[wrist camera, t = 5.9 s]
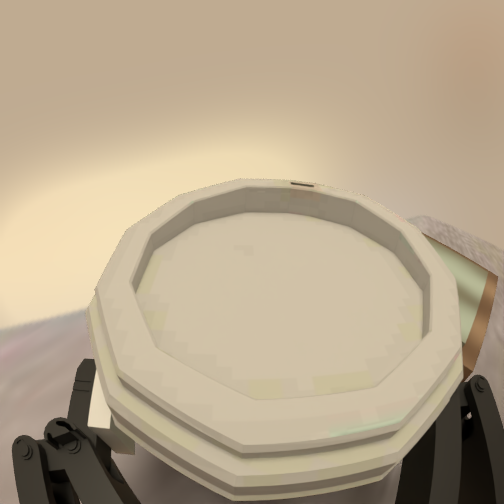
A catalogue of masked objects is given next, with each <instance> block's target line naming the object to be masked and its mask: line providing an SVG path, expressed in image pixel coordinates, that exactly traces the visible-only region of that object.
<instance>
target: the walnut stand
mask: <svg viewBox="0 0 504 504" xmlns="http://www.w3.org/2000/svg"><path fill="white" fill-rule="evenodd" d="M421 233H422V232H421ZM422 234H423V235H424V236H425V238H426V239H427V240H428V242H429V243H430V244H431V245H432V247H433V248H434V249H435V251H436V252H437V253H438V255H439V256H440V257H441V259H442V260H443V262H444V263H445V264H446V266H447V267H448V268H449V270H450V271H451V273H452V274H453V276H454V277H455V279H456V281H457V289H458V297H459V307H460V318H461V333H462V356H463V379H462V381H461V382H464V381H465V380H466V379H467V378H468V376H469V375H470V374H471V373H472V372H473V370H474V367H475V364H476V361H477V358H478V355H479V352H480V349H481V346H482V343H483V340H484V336H485V333H486V329H487V326H488V322H489V318H490V314H491V310H492V305H493V301H494V296H495V291H496V286H497V281H498V276H496V275H495V274H493V273H492V272H490V271H488V270H487V269H485V268H484V267H482V266H480V265H479V264H477V263H475V262H474V261H472V260H470V259H469V258H467V257H465V256H463V255H462V254H460V253H458V252H456V251H455V250H453V249H451V248H449V247H448V246H446V245H444V244H442V243H440V242H439V241H437V240H435V239H433V238H431V237H429V236H427V235H425V234H424V233H422Z"/></svg>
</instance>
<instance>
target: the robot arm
mask: <svg viewBox="0 0 504 504" xmlns="http://www.w3.org/2000/svg"><path fill="white" fill-rule="evenodd" d="M470 412H471V415H472V417H471V418H470V419H469V418H468V417H467V414H469V413H470ZM44 438H45V439H42V440H34V439H33V438H31V437H30V436H27V435H22V436H19V437H18V438H16V439H15V441H14V443H13V445H12V457H13V466H14V474H15V480H16V486H17V492H18V497H19V502H20V504H80V501H81V503H82V504H141V503H140V502H139V500H138V499H137V497H136V496H135V494H134V493H133V491H132V490H131V488H130V487H129V485H128V484H127V482H126V481H125V479H124V477H123V476H122V474H121V473H120V471H119V469H118V467H117V466H116V464H115V462H114V461H113V459H112V458H111V449H112V450H113V451H114V452H115V453H120V454H131V455H135V441H134V440H133V439H131V438H130V437H129V436H128V435H126V434H125V433H124V432H123V431H121V430H120V429H119V428H118V427H117V426H115V423H114V420H113V417H112V414H111V411H110V409H109V407H108V405H107V404H106V401H105V398H104V394H103V391H102V387H101V384H100V380H99V376H98V372H97V368H96V364H95V360H94V359H84V360H83V361H82V363H81V364H80V365H79V367H78V368H77V372H76V377H75V382H74V386H73V391H72V395H71V400H70V406H69V411H68V417H67V419H66V418H62V417H60V418H54V419H53V420H51V421H50V422H49V423H48V424H47V426H46V427H45V431H44ZM79 499H80V501H79ZM395 504H504V429H503V425H502V422H501V418H500V415H499V412H498V408H497V405H496V402H495V399H494V396H493V393H492V391H491V388H490V385H489V383H488V381H487V380H486V379H485V378H484V377H483V376H481V375H474V376H473V377H472V378H471V379H470V380H469V381H468V382H460V384H459V385H458V387H457V388H456V390H455V391H454V393H453V394H452V396H451V397H450V401H449V402H448V403H447V405H446V406H445V408H444V409H443V410H442V412H441V413H440V414H439V416H438V417H437V418H436V420H435V421H434V422H433V424H432V425H431V426H430V427H429V429H428V430H427V431H426V432H425V434H424V435H423V436H422V437H421V438H420V440H419V441H418V442H417V443H416V444H415V445H414V447H413V448H412V449H411V450H410V451H409V452H408V453H407V454H406V455H405V457H404V458H403V462H402V468H401V475H400V481H399V486H398V492H397V497H396V501H395Z"/></svg>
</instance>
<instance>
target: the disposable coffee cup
mask: <svg viewBox="0 0 504 504" xmlns="http://www.w3.org/2000/svg"><path fill="white" fill-rule="evenodd" d="M85 314H86V320H87V326H88V332H89V337H90V342H91V347H92V351H93V356H94V360H95V364H96V368H97V372H98V376H99V380H100V384H101V387H102V391H103V394H104V398H105V401H106V404H107V405H108V407H109V409H110V411H111V414H112V417H113V420H114V423H115V426H117V427H118V428H119V429H120V430H121V431H123V432H124V433H125V434H126V435H128V436H129V437H130V438H131V439H133V440H134V441H135V442H137V443H138V444H139V445H141V446H142V447H143V448H145V449H146V450H148V451H149V452H150V453H152V454H153V455H155V456H156V457H158V458H159V459H160V460H162V461H163V462H165V463H166V464H168V465H170V466H171V467H173V468H174V469H176V470H177V471H179V472H181V473H182V474H184V475H186V476H187V477H189V478H191V479H192V480H194V481H196V482H198V483H199V484H201V485H203V486H205V487H207V488H208V489H210V490H212V491H214V492H216V493H218V494H220V495H222V496H224V497H226V498H228V499H230V500H232V501H257V500H274V499H286V498H296V497H304V496H311V495H317V494H323V493H329V492H334V491H339V490H344V489H349V488H353V487H357V486H361V485H365V484H369V483H373V482H376V481H380V480H382V479H383V478H384V477H385V476H386V475H387V474H388V473H389V472H390V471H391V470H392V469H393V468H394V467H395V466H396V465H397V464H398V463H399V462H400V461H401V460H402V459H403V458H404V457H405V455H406V454H407V453H408V452H409V451H410V450H411V449H412V448H413V447H414V445H415V444H416V443H417V442H418V441H419V440H420V438H421V437H422V436H423V435H424V434H425V432H426V431H427V430H428V429H429V427H430V426H431V425H432V424H433V422H434V421H435V420H436V418H437V417H438V416H439V414H440V413H441V412H442V410H443V409H444V408H445V406H446V405H447V403H448V402H449V401H450V397H451V396H452V394H453V393H454V391H455V390H456V388H457V387H458V385H459V384H460V382H461V381H462V379H463V356H462V333H461V318H460V307H459V297H458V289H457V281H456V279H455V277H454V276H453V274H452V273H451V271H450V270H449V268H448V267H447V266H446V264H445V263H444V262H443V260H442V259H441V257H440V256H439V255H438V253H437V252H436V251H435V249H434V248H433V247H432V245H431V244H430V243H429V242H428V240H427V239H426V238H425V236H424V235H423V234H422V233H421V231H420V230H419V229H418V228H417V227H415V226H414V225H412V224H411V223H409V222H408V221H406V220H404V219H403V218H401V217H400V216H398V215H397V214H395V213H393V212H392V211H390V210H388V209H387V208H385V207H383V206H382V205H380V204H378V203H376V202H375V201H373V200H372V199H370V198H368V197H366V196H365V195H361V194H357V193H353V192H349V191H346V190H341V189H337V188H333V187H329V186H324V185H320V184H316V183H308V182H301V181H293V180H275V179H236V180H232V181H228V182H224V183H220V184H216V185H213V186H209V187H205V188H201V189H198V190H194V191H191V192H188V193H184V194H180V195H178V196H176V197H175V198H173V199H172V200H170V201H169V202H167V203H165V204H164V205H162V206H161V207H159V208H158V209H156V210H155V211H153V212H152V213H150V214H149V215H147V216H146V217H144V218H143V219H141V220H140V221H138V222H137V223H135V224H134V225H133V226H131V227H130V228H128V229H127V230H126V231H125V233H124V235H123V237H122V238H121V240H120V242H119V244H118V246H117V247H116V249H115V251H114V253H113V255H112V257H111V258H110V260H109V262H108V264H107V266H106V268H105V270H104V272H103V274H102V276H101V278H100V280H99V282H98V284H97V286H96V288H95V295H94V297H93V299H92V301H91V302H90V304H89V306H88V308H87V310H86V312H85Z"/></svg>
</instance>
